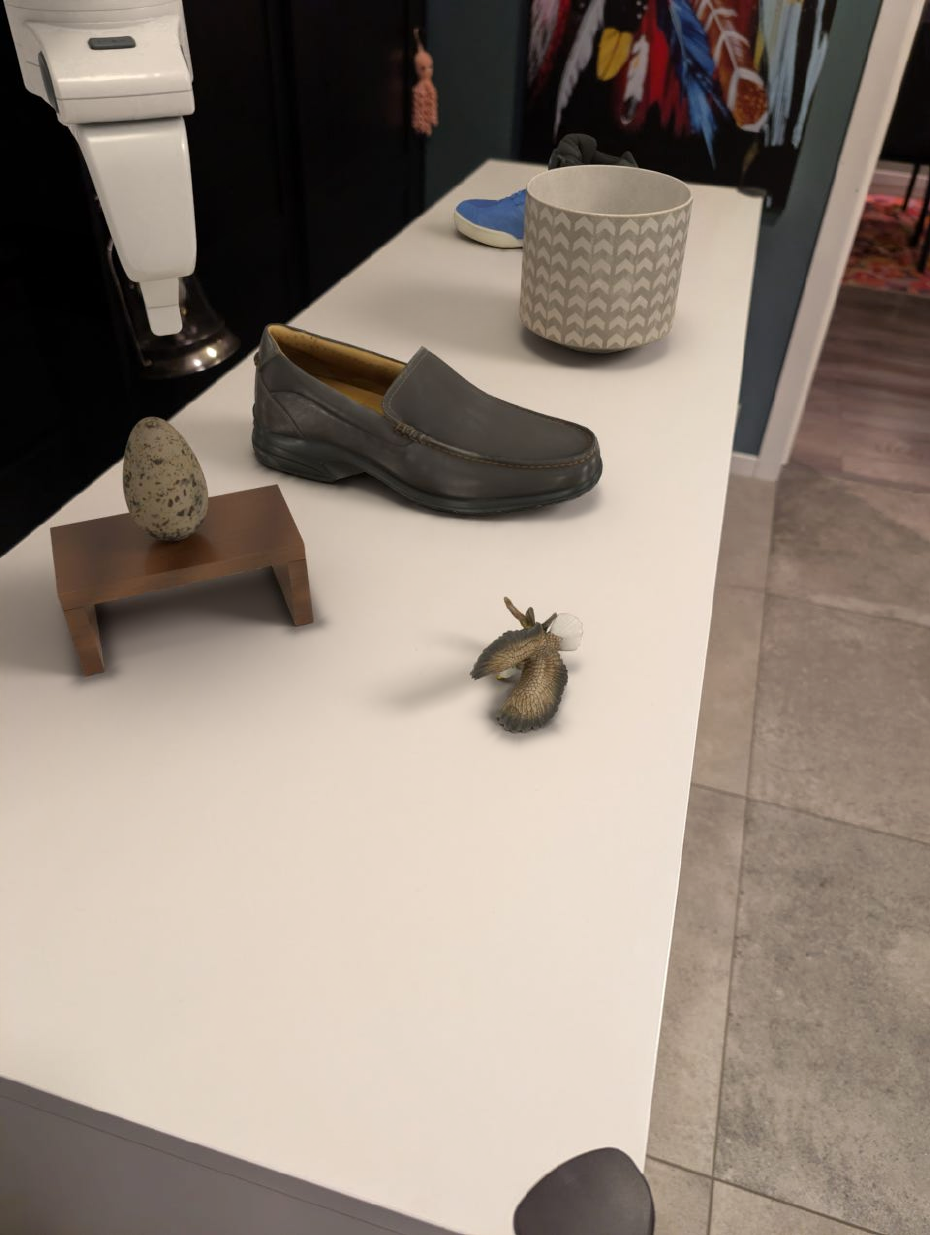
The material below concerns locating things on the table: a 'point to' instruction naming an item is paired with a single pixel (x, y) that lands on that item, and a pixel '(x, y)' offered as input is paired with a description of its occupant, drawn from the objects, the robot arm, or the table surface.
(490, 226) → the sneaker
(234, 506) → the shelf
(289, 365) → the loafer
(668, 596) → the table surface
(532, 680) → the eagle figurine
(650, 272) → the planter
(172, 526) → the decorative egg
